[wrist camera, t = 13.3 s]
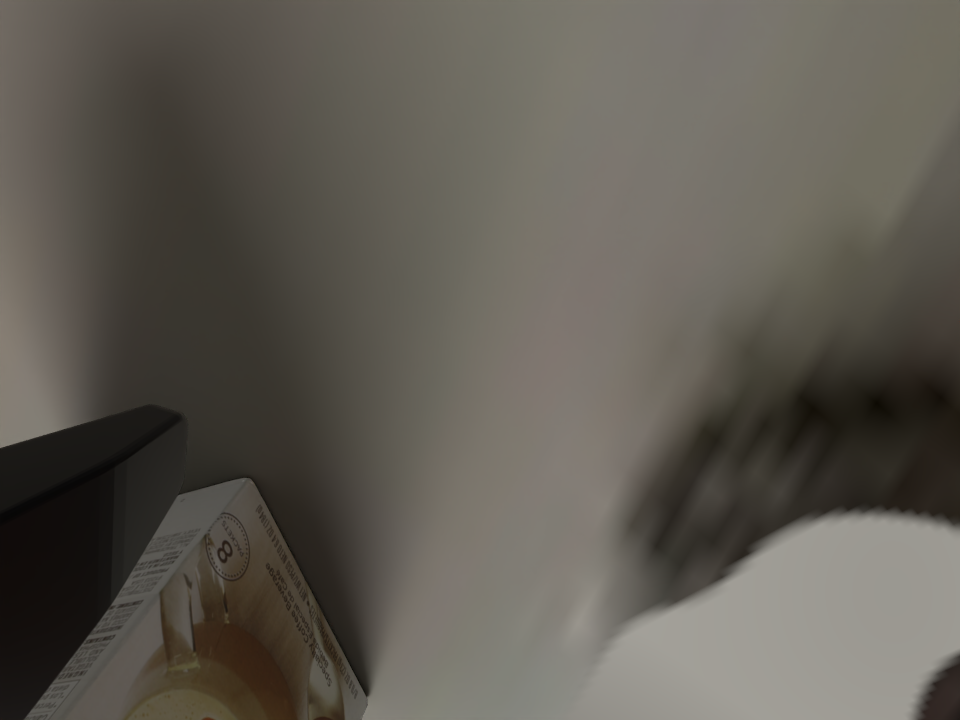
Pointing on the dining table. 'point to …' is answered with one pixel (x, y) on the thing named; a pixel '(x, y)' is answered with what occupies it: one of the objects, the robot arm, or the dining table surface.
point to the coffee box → (210, 628)
